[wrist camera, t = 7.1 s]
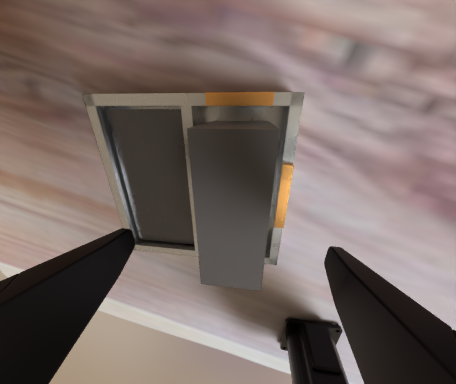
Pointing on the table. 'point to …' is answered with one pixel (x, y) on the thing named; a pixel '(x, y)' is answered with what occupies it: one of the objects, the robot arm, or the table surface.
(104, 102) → the grey square tray
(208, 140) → the grey block
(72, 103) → the table surface
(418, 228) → the table surface
